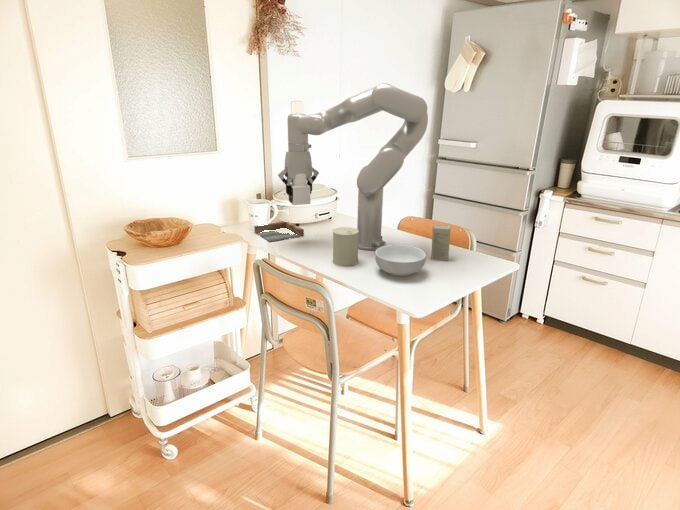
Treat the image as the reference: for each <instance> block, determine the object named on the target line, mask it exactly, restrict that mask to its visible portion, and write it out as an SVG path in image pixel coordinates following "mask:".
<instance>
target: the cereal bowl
mask: <svg viewBox="0 0 680 510" xmlns="http://www.w3.org/2000/svg"><path fill="white" fill-rule="evenodd" d="M374 256H375V257H374V259H375V263H376V265H377V267H378V268H379V269H380V270H382V271H383V272H386V273H387V274H390V275H392V276H395V277H406V276H409V275H413V274H415V273H418V272H419V271H420V270H422V269H423V267H424V266H425V263H426V259H427V258H426V257H427V255H426V252H425V251H424V250H422V249H420V248H419V247H416V246H412V245H409V244H408V245H407V244H388V245H385V246H383V247H380V248H378V249H376V250H375V252H374Z"/></svg>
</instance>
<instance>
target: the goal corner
mask: <svg viewBox="0 0 680 510" xmlns="http://www.w3.org/2000/svg"><path fill="white" fill-rule="evenodd" d="M284 221H285V220H284ZM284 221H277V222H271V223H267V224H268V225H264V224H263V225H264V226H258V225H254V226H253V228H254V234H256V233H257V234H256V235H258V236H259V235H260V236H259V237H260V238H262V239H264V240H265V241H267V242H269V243H274V242H279V240H281V241H284V239H286V240H290V239H289V238H291V239H295V238H294V237H297V238H301V237H300V236H302V237H304V236H305V234H304V233H305V232H304V229H303V228H301V227H300V226H297V225H296V224H294V223H292V222H290V221H288V222H284ZM289 222H290V223H289ZM280 228H287V229H289V230H291V231H292V232H294V233H295V234H293V235H292V234H291V235H290V234H289V233H287V234H286V233H285V234H284V233H283V234H282V233H279V232H277V231H276V232H275V231H269V232H262V231H264V230H276V229H280ZM260 232H262V233H260ZM296 234H297V235H296Z"/></svg>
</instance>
